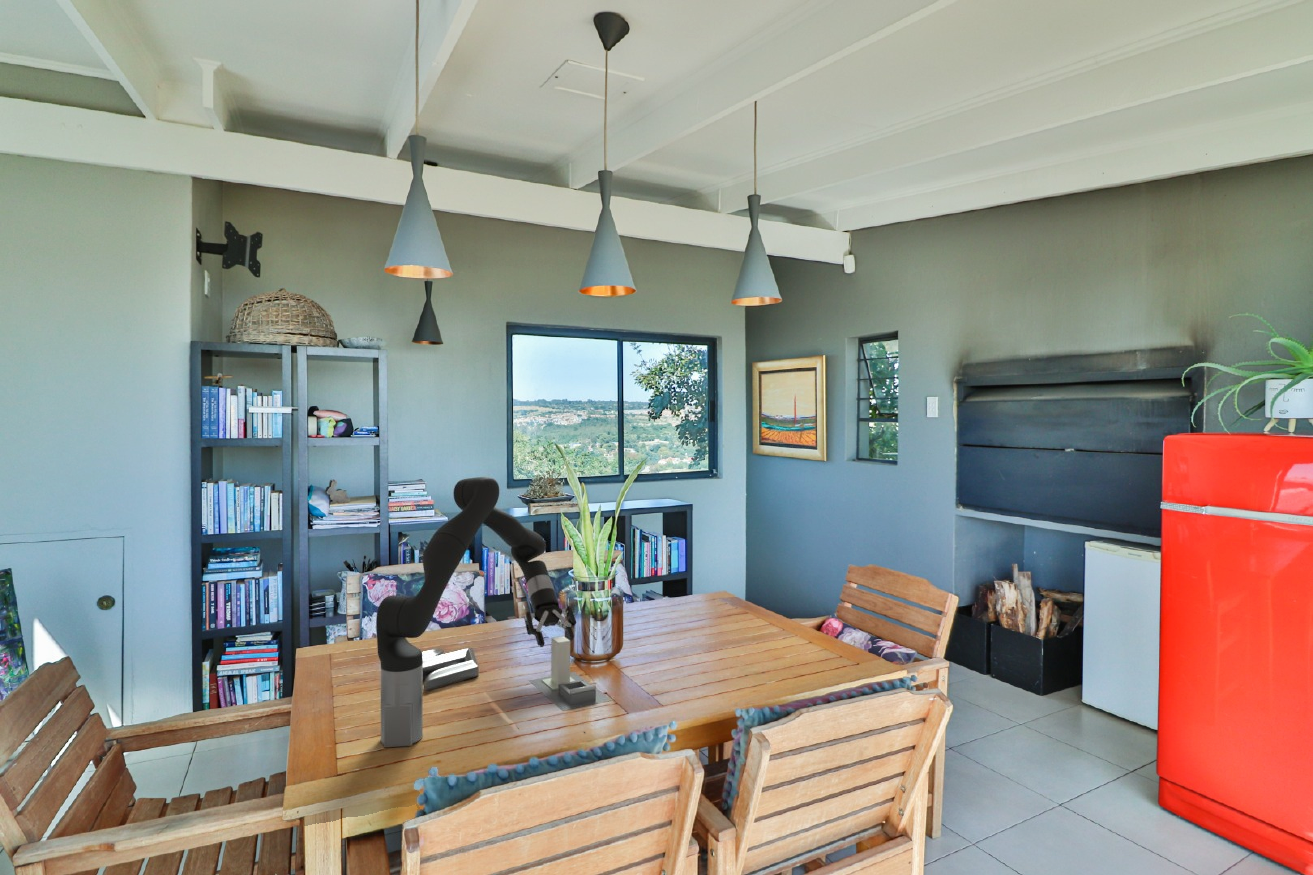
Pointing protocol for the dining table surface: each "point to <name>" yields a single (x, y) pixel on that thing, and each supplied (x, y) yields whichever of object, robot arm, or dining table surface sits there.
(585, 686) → the grey socket base
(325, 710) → the dining table surface
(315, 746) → the dining table surface
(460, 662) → the emblem
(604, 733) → the dining table surface
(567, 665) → the cream rectangular block
